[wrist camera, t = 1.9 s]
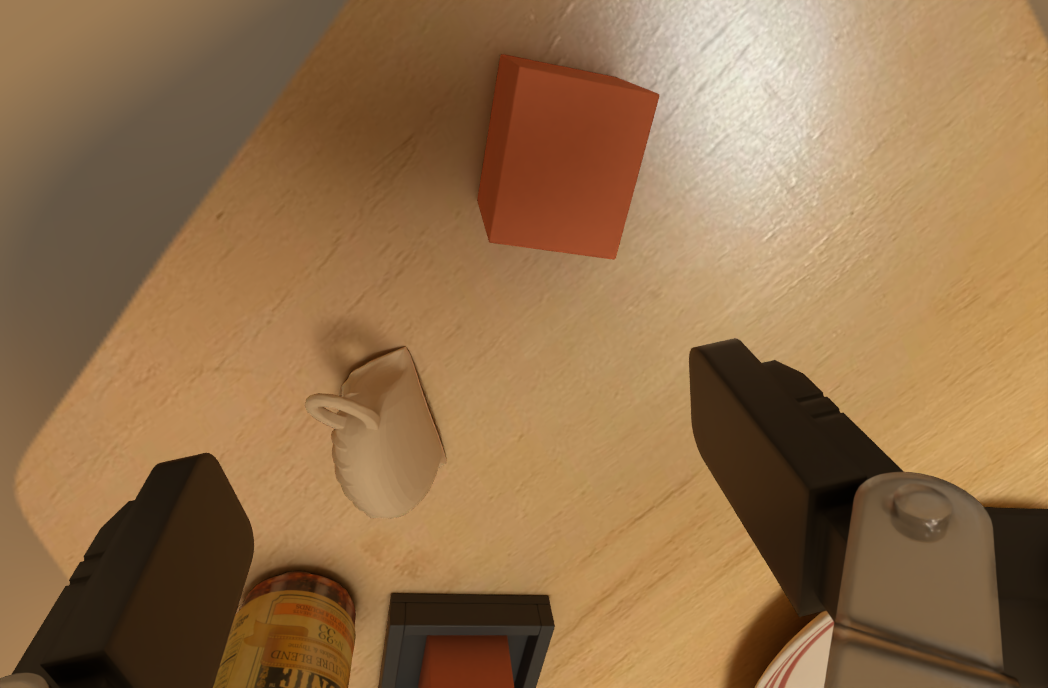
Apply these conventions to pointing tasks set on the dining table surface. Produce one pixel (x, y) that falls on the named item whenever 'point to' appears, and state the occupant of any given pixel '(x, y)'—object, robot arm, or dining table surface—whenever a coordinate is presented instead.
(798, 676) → the dinner plate
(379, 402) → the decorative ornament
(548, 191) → the orange block
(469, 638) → the orange rectangular block
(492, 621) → the pad holder
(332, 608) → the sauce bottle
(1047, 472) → the dining table surface
